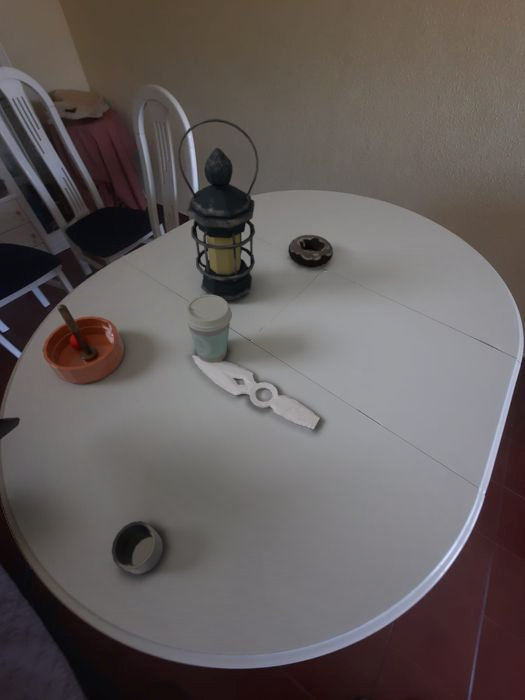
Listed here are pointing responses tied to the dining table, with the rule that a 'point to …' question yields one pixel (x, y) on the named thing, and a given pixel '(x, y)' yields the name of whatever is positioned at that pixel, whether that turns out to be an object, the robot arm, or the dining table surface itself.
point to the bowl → (68, 357)
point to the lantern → (222, 224)
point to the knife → (280, 404)
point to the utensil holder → (137, 547)
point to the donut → (313, 258)
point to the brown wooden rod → (78, 335)
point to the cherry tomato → (75, 343)
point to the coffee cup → (209, 326)
